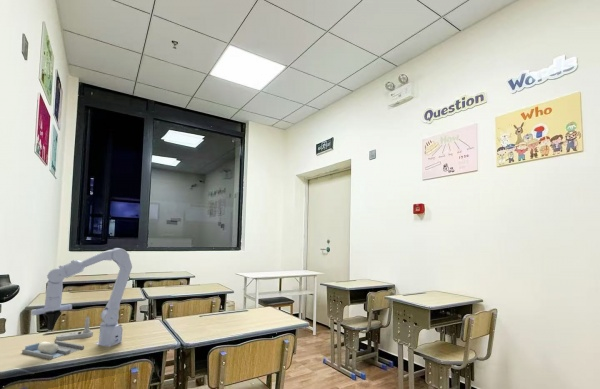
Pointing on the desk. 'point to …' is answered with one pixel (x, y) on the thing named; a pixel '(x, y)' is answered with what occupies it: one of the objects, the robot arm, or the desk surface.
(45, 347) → the beige rounded block
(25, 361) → the desk surface
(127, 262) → the robot arm
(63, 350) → the tray
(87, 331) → the electronic device
